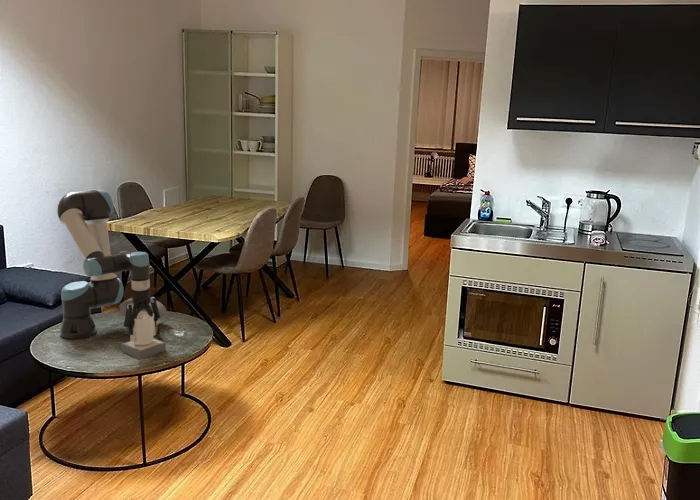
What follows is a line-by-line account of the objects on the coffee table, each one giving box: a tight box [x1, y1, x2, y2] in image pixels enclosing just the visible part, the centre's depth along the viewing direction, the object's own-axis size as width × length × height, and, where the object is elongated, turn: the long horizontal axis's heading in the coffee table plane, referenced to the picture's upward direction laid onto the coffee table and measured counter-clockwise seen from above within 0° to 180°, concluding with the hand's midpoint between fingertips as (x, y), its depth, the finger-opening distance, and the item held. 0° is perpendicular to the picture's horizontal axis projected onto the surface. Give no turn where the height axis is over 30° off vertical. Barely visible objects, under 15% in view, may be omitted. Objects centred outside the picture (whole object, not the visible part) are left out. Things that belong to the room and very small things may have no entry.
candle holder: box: [133, 311, 155, 345], centre depth 267 cm, size 10×10×12 cm
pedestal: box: [120, 337, 167, 360], centre depth 269 cm, size 13×13×4 cm
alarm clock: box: [119, 297, 167, 326], centre depth 301 cm, size 23×6×13 cm, turn 69°
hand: (143, 337), depth 268 cm, fingers closed on candle holder, 9 cm apart
